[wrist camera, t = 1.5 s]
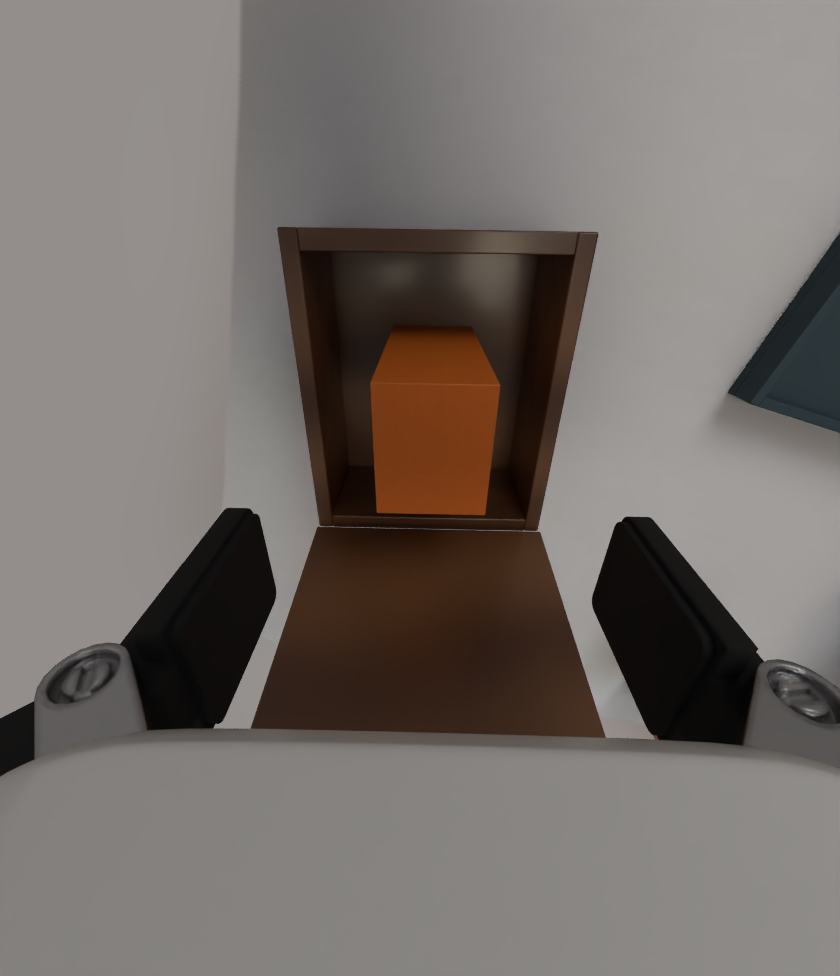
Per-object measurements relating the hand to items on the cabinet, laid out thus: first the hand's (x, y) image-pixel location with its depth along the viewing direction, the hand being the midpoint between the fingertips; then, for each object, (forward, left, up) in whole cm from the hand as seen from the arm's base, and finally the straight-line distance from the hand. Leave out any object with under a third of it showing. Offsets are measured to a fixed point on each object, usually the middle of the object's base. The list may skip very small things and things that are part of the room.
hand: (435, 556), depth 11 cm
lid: (+6, -4, -2) cm, 8 cm away
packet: (0, 0, -16) cm, 16 cm away
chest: (0, 0, -17) cm, 17 cm away
